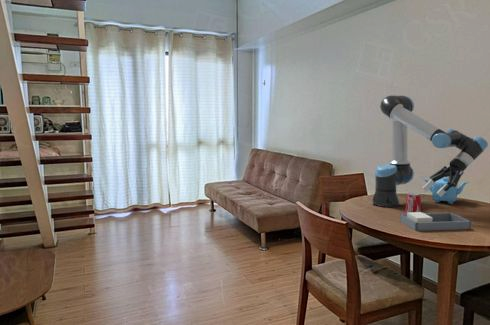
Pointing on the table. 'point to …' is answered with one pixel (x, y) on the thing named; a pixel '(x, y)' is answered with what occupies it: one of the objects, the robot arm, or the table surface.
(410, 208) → the soda can
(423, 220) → the cream rectangular box
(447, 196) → the teakettle
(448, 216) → the tote
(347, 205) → the table surface
